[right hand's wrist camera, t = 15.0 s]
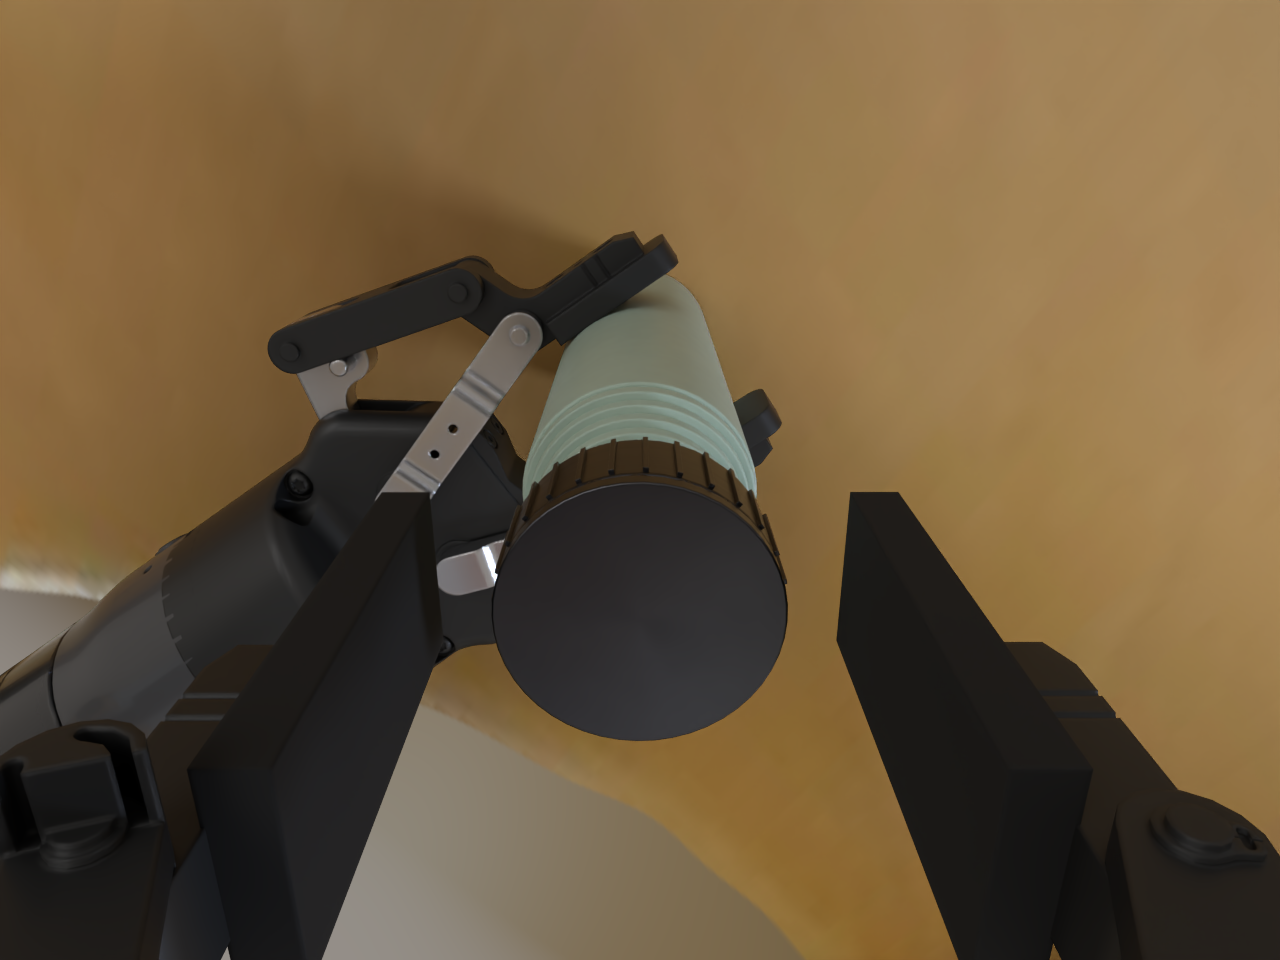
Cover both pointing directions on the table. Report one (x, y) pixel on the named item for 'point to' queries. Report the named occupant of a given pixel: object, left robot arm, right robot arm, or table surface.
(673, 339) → the bottle
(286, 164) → the table surface
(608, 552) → the cap
